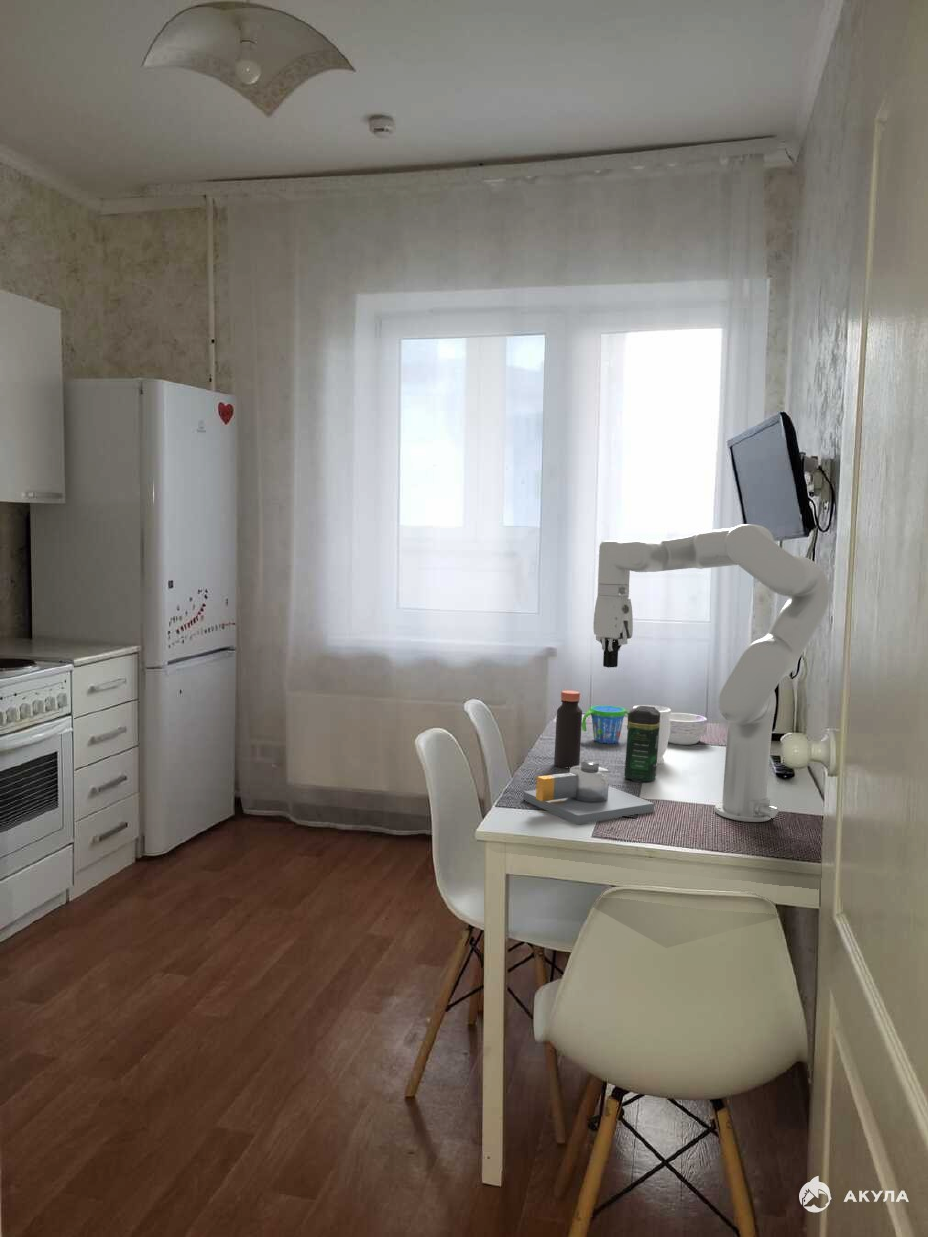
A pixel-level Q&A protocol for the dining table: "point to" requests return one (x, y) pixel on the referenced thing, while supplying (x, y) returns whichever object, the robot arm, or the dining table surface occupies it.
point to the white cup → (662, 730)
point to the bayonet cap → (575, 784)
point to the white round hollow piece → (686, 728)
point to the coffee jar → (642, 744)
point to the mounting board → (593, 806)
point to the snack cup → (606, 722)
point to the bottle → (568, 730)
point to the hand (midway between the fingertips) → (610, 666)
